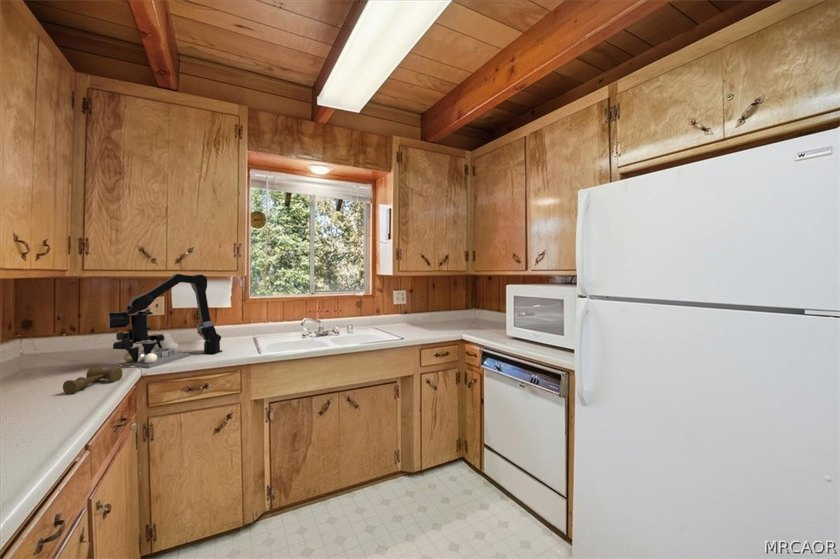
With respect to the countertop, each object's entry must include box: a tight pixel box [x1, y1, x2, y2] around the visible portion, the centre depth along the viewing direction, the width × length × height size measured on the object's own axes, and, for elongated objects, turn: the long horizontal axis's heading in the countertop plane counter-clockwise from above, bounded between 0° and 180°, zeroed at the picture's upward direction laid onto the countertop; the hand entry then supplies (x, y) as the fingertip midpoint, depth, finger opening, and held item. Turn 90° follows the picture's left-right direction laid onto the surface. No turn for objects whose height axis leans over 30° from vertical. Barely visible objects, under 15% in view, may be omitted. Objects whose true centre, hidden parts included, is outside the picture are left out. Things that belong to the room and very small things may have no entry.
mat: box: [118, 352, 192, 369], centre depth 161 cm, size 16×21×1 cm
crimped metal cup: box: [151, 348, 177, 358], centre depth 166 cm, size 10×10×2 cm
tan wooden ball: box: [123, 352, 133, 362], centre depth 155 cm, size 4×4×4 cm
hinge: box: [154, 332, 180, 350], centre depth 181 cm, size 17×5×10 cm, turn 23°
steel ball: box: [137, 352, 146, 363], centre depth 154 cm, size 4×4×4 cm
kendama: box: [62, 365, 124, 395], centre depth 129 cm, size 6×10×20 cm
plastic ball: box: [145, 353, 157, 363], centre depth 153 cm, size 4×4×4 cm
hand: (140, 360), depth 154 cm, fingers closed on steel ball, 4 cm apart
